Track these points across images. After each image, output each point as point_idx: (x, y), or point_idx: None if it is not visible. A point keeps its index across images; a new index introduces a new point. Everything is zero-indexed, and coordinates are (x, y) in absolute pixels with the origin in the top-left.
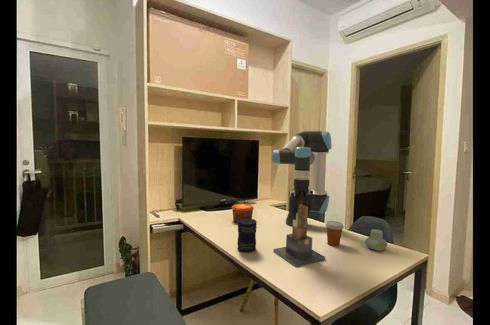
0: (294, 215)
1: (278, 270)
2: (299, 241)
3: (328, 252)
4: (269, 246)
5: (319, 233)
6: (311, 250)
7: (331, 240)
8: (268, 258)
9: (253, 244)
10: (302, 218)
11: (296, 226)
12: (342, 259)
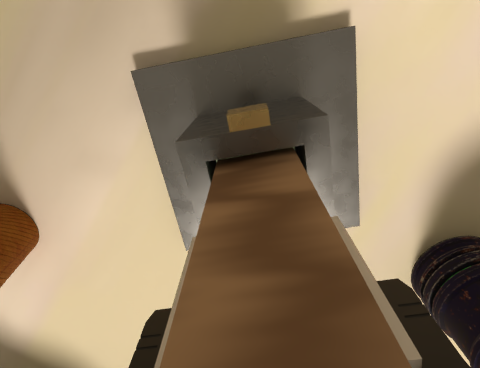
0: (436, 337)
1: (462, 13)
2: (309, 116)
3: (77, 150)
4: None
5: (35, 339)
6: (196, 121)
7: (8, 229)
8: (421, 159)
9: (465, 265)
10: (287, 265)
11: (336, 218)
12: (31, 50)
